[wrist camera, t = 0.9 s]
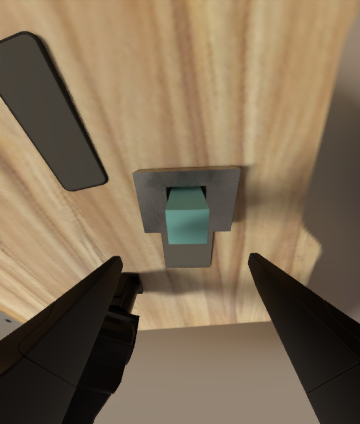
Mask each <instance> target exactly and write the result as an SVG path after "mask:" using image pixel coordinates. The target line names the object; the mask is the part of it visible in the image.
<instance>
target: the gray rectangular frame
mask: <svg viewBox="0 0 360 424" xmlns="http://www.w3.org/2000/svg"><path fill="white" fill-rule="evenodd" d="M240 172H241V168H238V167H236V166H212V167H188V168H164V169H139V170H137V171H135V172H133V173H132V174H133V179H134V183H135V188H136V193H137V198H138V202H139V207H140V212H141V217H142V222H143V226H144V231H145V233H163V232H167V223H166V214H165V209H166V206H167V202H168V199H169V190H168V187H181V186H204V190H203V195H204V197H205V200H206V202H207V205H208V207H209V221H208V232H214V231H230V230H231V225H232V219H233V213H234V207H235V201H236V195H237V189H238V184H239V178H240Z"/></svg>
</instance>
